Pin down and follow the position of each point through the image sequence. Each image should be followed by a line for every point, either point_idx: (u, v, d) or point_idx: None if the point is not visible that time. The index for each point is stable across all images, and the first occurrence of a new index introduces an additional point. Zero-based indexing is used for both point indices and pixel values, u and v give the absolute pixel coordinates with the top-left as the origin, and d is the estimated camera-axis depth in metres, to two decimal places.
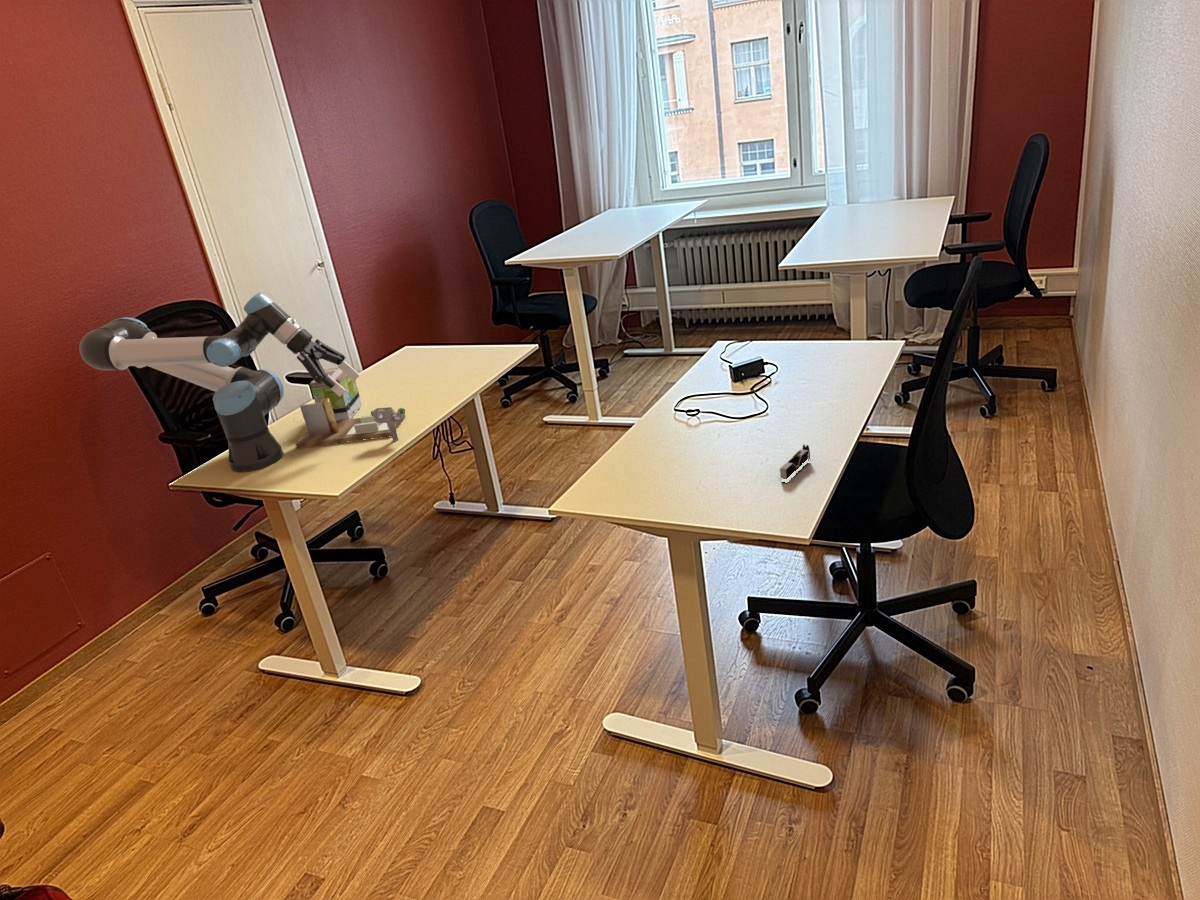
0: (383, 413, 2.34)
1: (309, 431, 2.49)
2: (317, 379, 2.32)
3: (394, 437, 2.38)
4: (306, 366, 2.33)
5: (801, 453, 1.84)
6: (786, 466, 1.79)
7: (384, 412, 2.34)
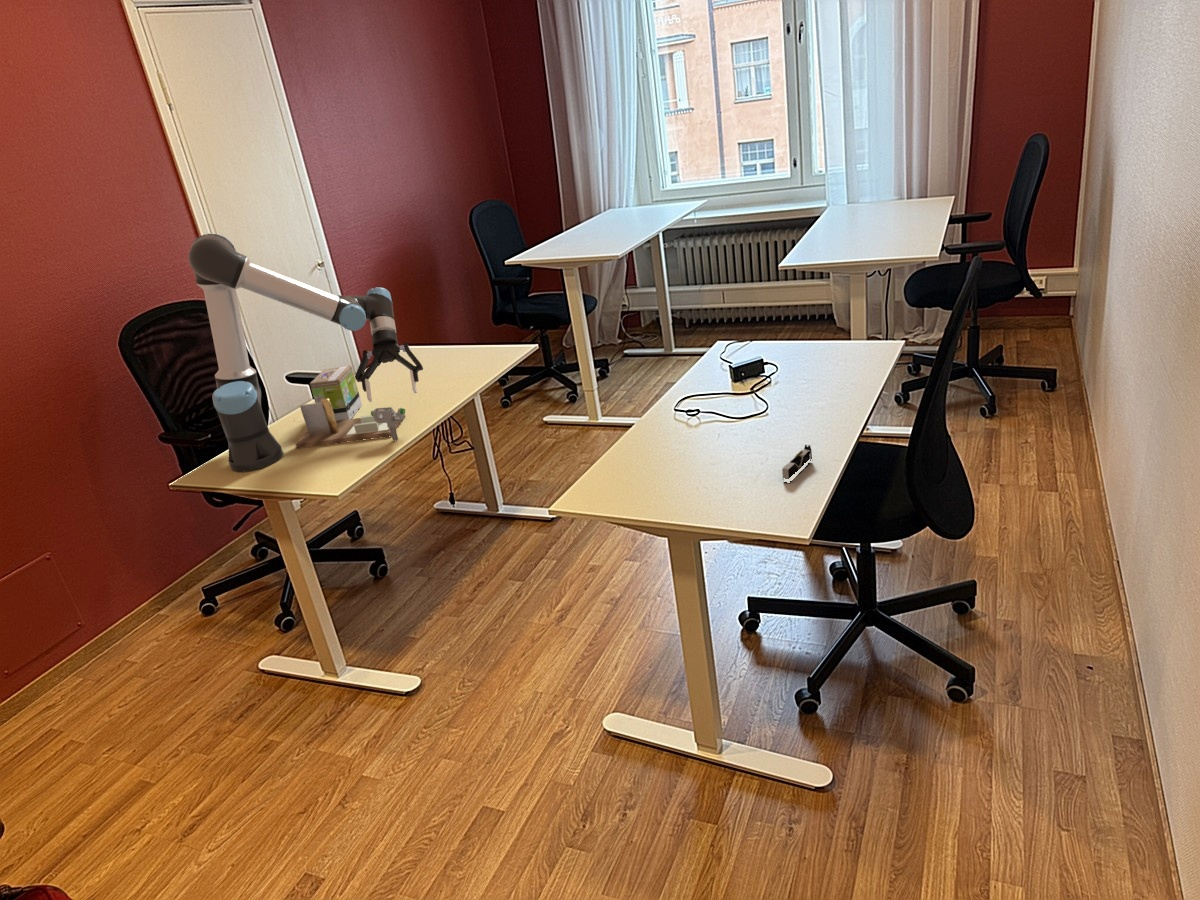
0: (383, 413, 2.34)
1: (309, 431, 2.49)
2: None
3: (394, 437, 2.38)
4: (412, 353, 2.46)
5: (803, 453, 1.84)
6: (788, 466, 1.79)
7: (384, 412, 2.34)
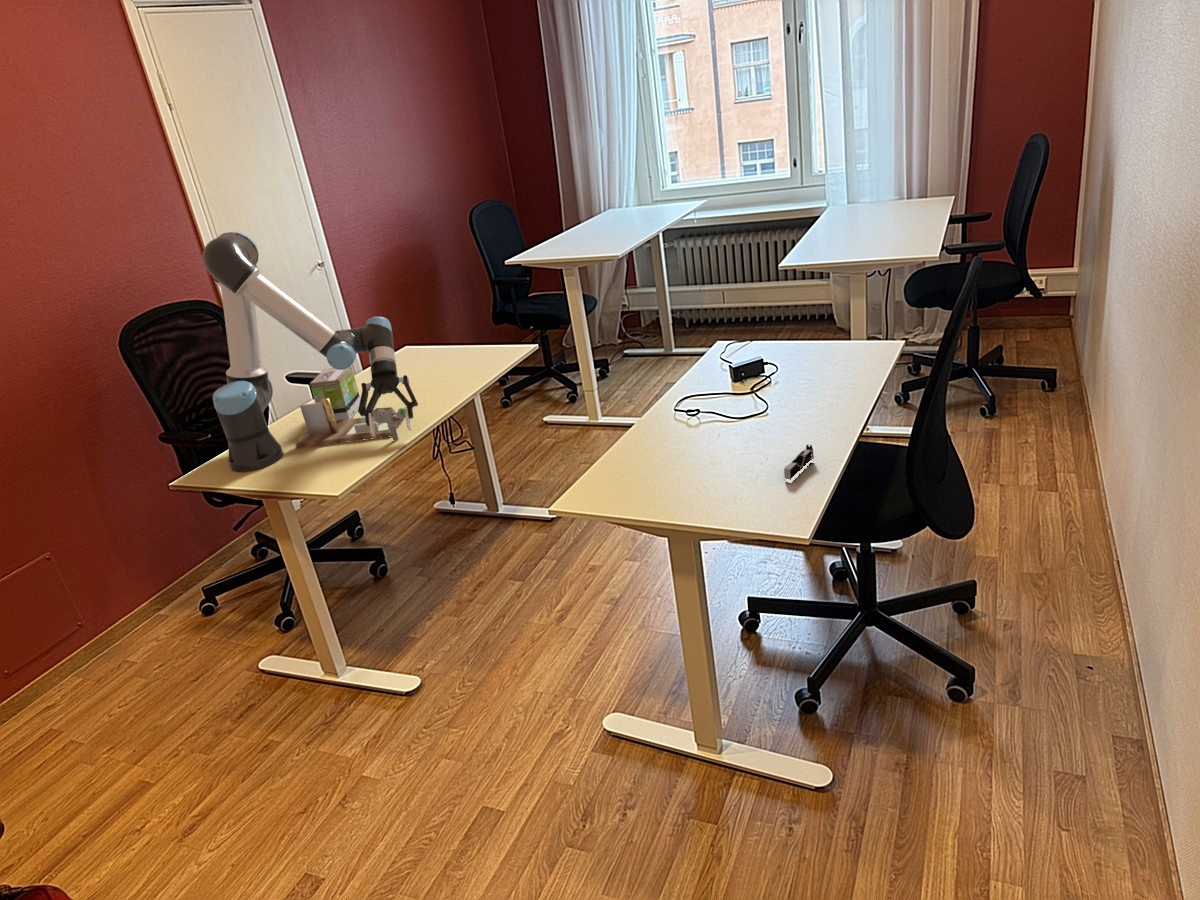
0: (383, 413, 2.34)
1: (309, 431, 2.49)
2: (416, 402, 2.38)
3: (394, 437, 2.38)
4: None
5: (805, 453, 1.84)
6: (790, 466, 1.79)
7: (384, 412, 2.34)
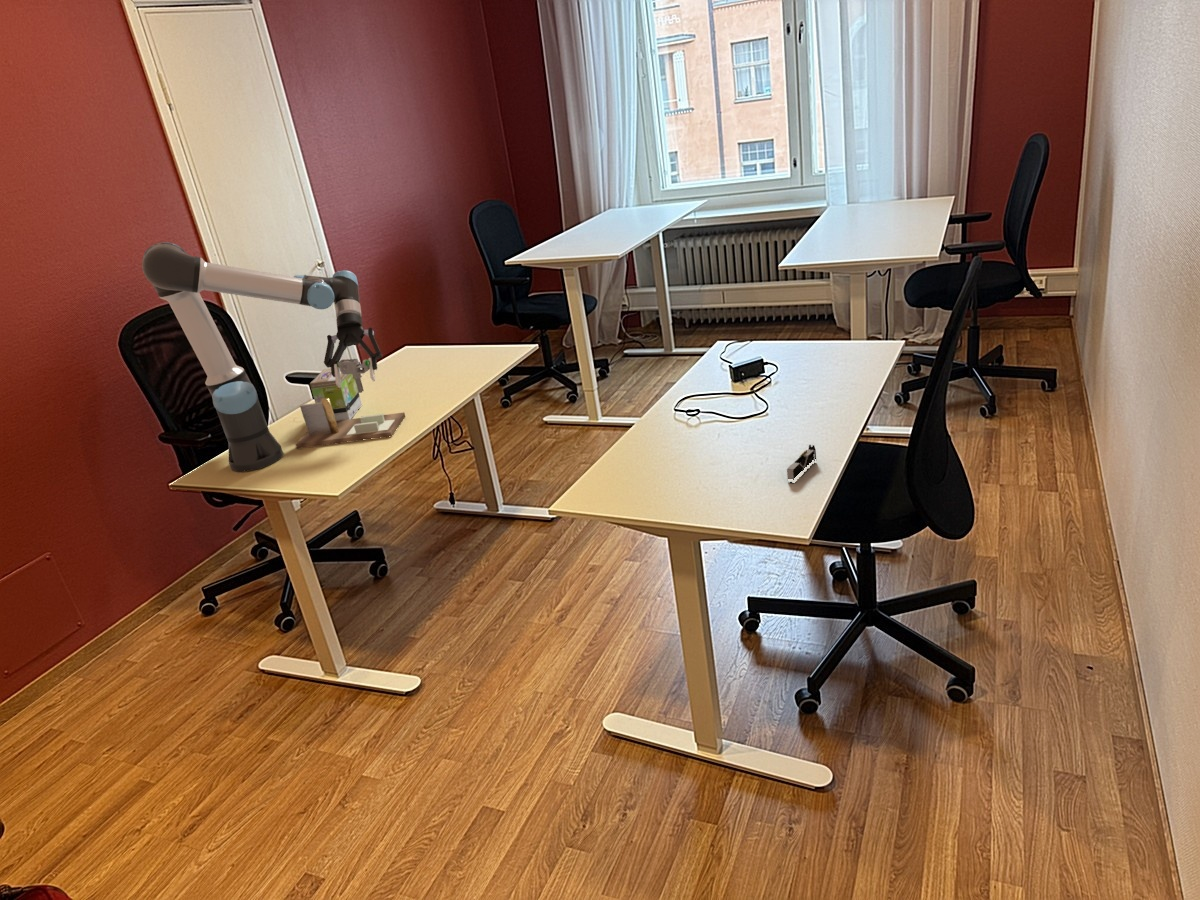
0: (348, 364, 2.38)
1: (309, 431, 2.49)
2: None
3: (359, 389, 2.42)
4: (374, 339, 2.43)
5: (807, 453, 1.83)
6: (793, 466, 1.78)
7: (349, 363, 2.38)
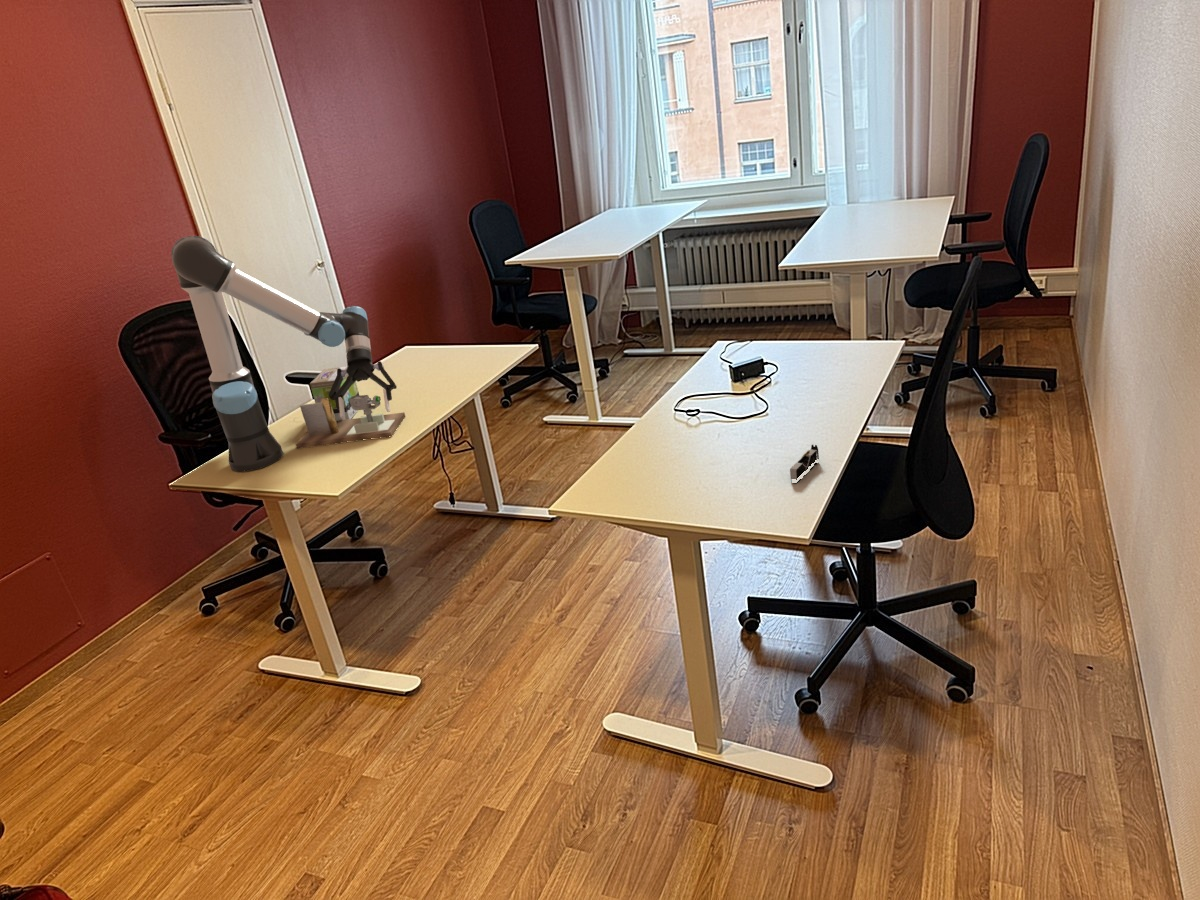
0: (359, 400, 2.43)
1: (309, 431, 2.49)
2: (395, 384, 2.47)
3: None
4: (386, 372, 2.48)
5: (810, 453, 1.83)
6: (796, 466, 1.78)
7: (360, 399, 2.43)
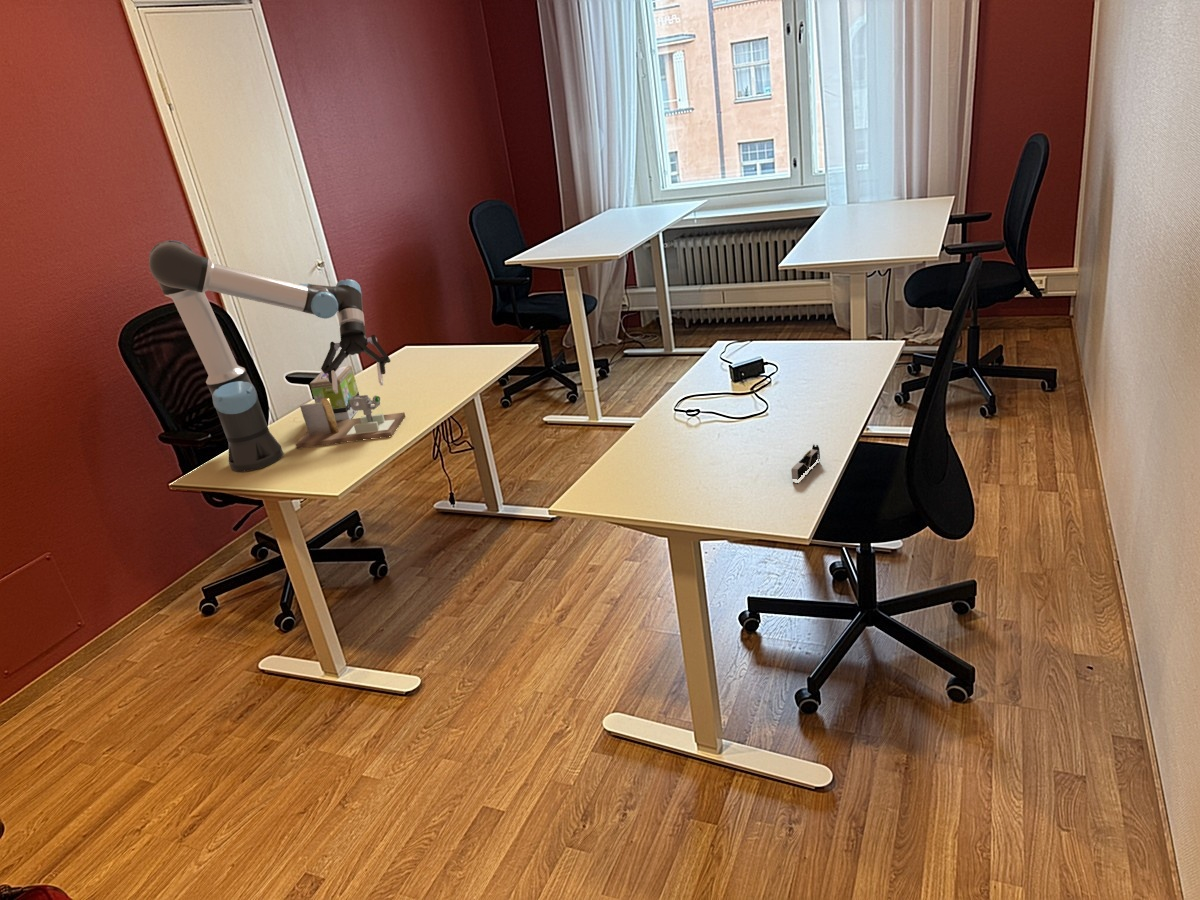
0: (359, 401, 2.43)
1: (309, 431, 2.49)
2: (389, 358, 2.43)
3: None
4: (379, 345, 2.44)
5: (811, 453, 1.83)
6: (797, 466, 1.78)
7: (360, 400, 2.42)
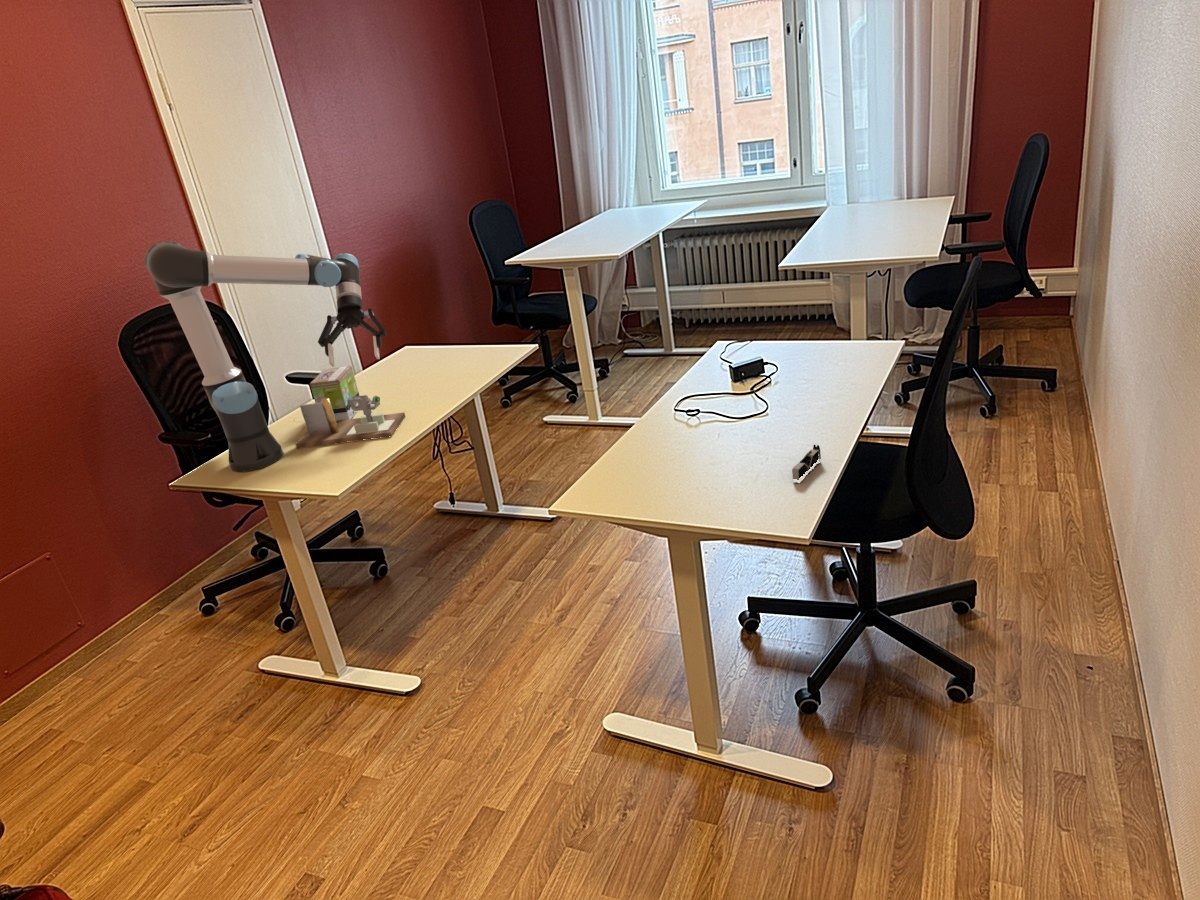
0: (359, 401, 2.43)
1: (309, 431, 2.49)
2: (385, 332, 2.44)
3: None
4: (376, 319, 2.45)
5: (812, 453, 1.83)
6: (798, 466, 1.78)
7: (360, 400, 2.42)
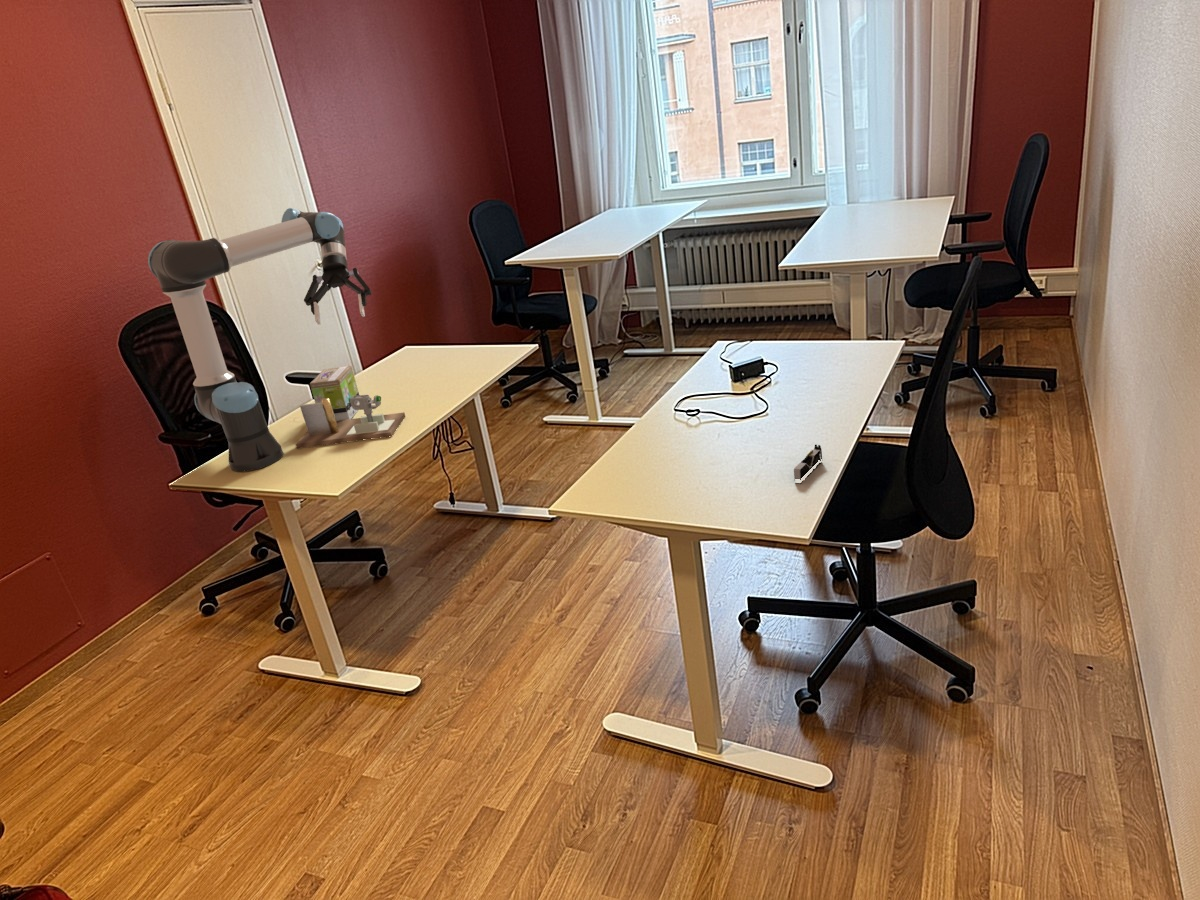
0: (360, 400, 2.43)
1: (309, 431, 2.49)
2: (370, 290, 2.49)
3: None
4: (361, 278, 2.50)
5: (813, 453, 1.83)
6: (800, 466, 1.78)
7: (361, 399, 2.43)
